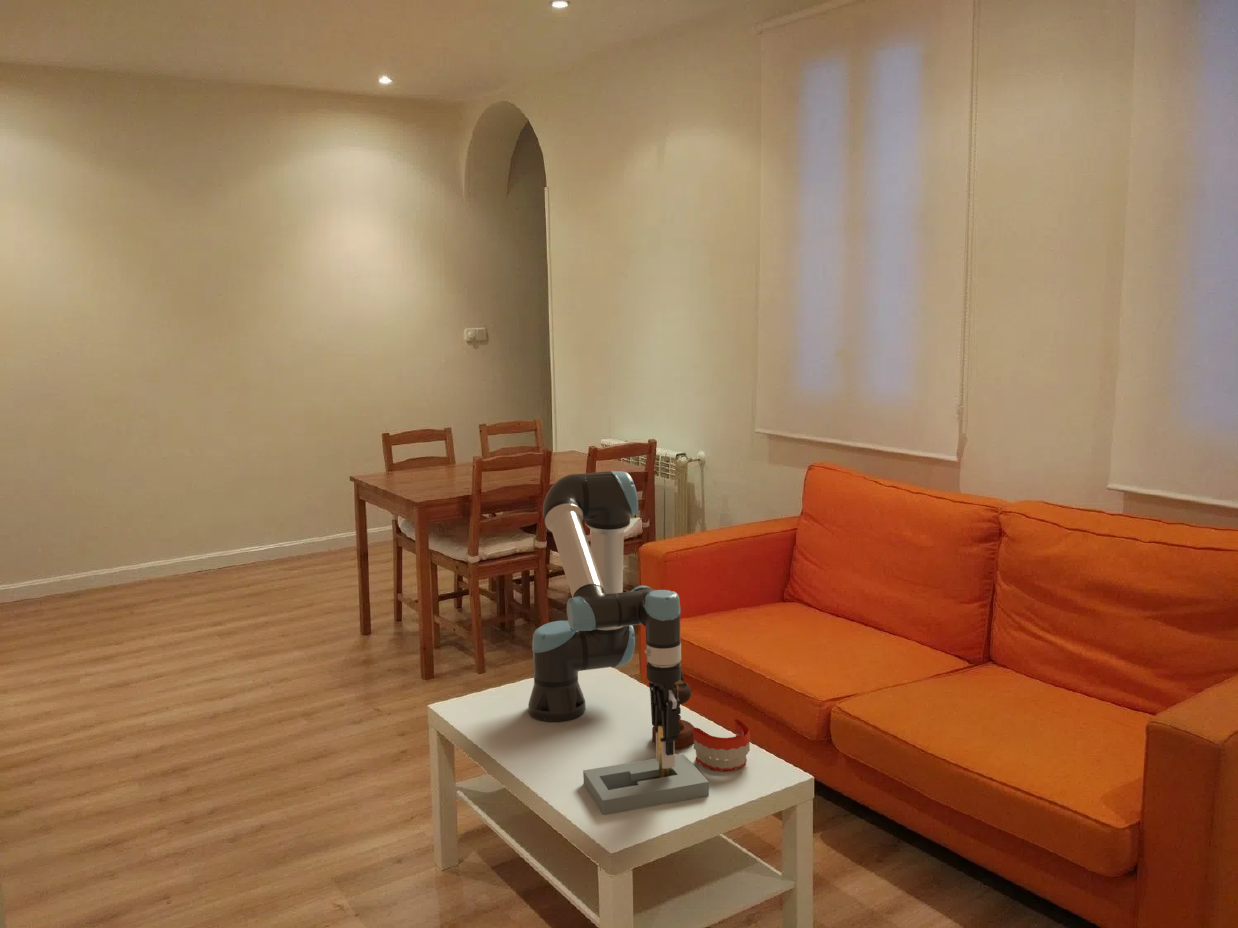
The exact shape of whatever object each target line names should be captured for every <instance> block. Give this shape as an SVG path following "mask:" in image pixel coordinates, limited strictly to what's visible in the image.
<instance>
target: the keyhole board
mask: <svg viewBox="0 0 1238 928" xmlns="http://www.w3.org/2000/svg"><path fill="white" fill-rule="evenodd" d="M582 775H583V776H582V777H583V785H584V787H585V789H586V790H587V791H588V793H589V795H590V796H591V797H592V799H593V801H594V802H595V804H596V806H597V807H598V809H599V811H600V812H601V813H602V815H610V814H615V813H621V812H626V811H631V810H637V809H643V808H649V807H652V806H653V807H654V806H660V805H664V804H670V803H675V802H682V801H687V800H693V799H697V798H703V797H708V796H709V795H710V791H709V790H710V783H709V780H708V779H707V778H706V777H705V776H704V775H703V774H702V773H701V771H700V770H699V769H698V768H697V767H696V765H694V764H693V762H692V761H690V759H688V757H687V756H686V755H685V754H684V753H681V754H680V753H679V754H675V767H672V776H668V777H662V778H657V777H659V762H657V761H656V757H655V758H650V759H645V760H638V761H632V762H625V763H619V764H613V765H608V766H602V767H595V768H590V769H584V770H583V771H582ZM655 778H656V779H655ZM636 784H637V785H636ZM629 785H630V786H629ZM617 787H618V788H617ZM611 788H612V789H611ZM613 788H614V789H613ZM709 797H710V796H709Z"/></svg>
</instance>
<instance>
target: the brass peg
mask: <svg viewBox="0 0 1238 928" xmlns="http://www.w3.org/2000/svg"><path fill="white" fill-rule="evenodd" d="M660 738H663V726H662V724H659V725H658V758H659V777H657V778H662V777H668V776H672V767H671V768H665V769H663V768H662V742H661V741H660ZM655 779H656V778H655Z"/></svg>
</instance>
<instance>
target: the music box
mask: <svg viewBox="0 0 1238 928" xmlns="http://www.w3.org/2000/svg"><path fill="white" fill-rule="evenodd" d="M674 688H675V691H676V696H675V699H676V700H677V699H679V700H680V705H682V704H685V703H687V702H688V701H689V700H690V699H691V696H692V689H691V687H690V685H689V684H688V683H687V682H686V681H685V677H684V674H683V670H682V669H681V679H680V680H679V681H678V682H676V683H675V684H674ZM681 711H682V709H681V707H680V708H679V739H678V740H676V741H674V748H675V751H676V750H684V749H687V748H690V747H692V746H694V739H693V728H696V727H695V726H694V725H693V724H692V723H691V722H689V721H687V720H684V719H682V716H681ZM651 732H652V733H651V734H652V743H653V745H654V746H656V733H657V732H656V731H655V726H653V725H652V729H651Z"/></svg>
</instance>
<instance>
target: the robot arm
mask: <svg viewBox="0 0 1238 928" xmlns="http://www.w3.org/2000/svg"><path fill="white" fill-rule="evenodd" d="M635 485H636V484H635V483H634V480H633V478H632V476H631V475H630V474H629V473H628V472H626V471H621V470H620V471H615V470H609V471H598V472H597V471H596V472H585V473H571V474H567V475H563V476H562V477H561V478H559V479H558V480H557V481H555V482H554V483H553V484H552V486H550V489H549V490H548V491H547V492H546V495H545V498H544V500H543V505H542V516H543V521H544V524H545V527H546V528H547V530H548V531H550V532H551V534H552V537H553V539H554V543H555V545H556V549H557V553H558V555H559V559H560V562H561V565H562V569H563V572H564V575H565V577H566V581H567V584H568V587H569V590H570V591H569V592H570V594H571V597H570V598H568V600H567V601H566V602H567V603H566V616H567V620H556V621H551V622H547V623H545V624H542V625H540V626H539V627H538V628H536V629H535V630H534V632H533V634H532V647H531V650H532V657H533V658H532V661H533V687H532V690H531V694H530V697H529V700H528V714H529V716H530V717H531V718H533V719H536V720H539V721H543V722H564V721H565V722H566V721H569V720H573V719H577V718H578V717H580V716H582V715H583V714H584V713H586V699H585V697H584V693H583V691H582V689H581V686H580V683H579V672H580V671H581V672H582V671H590V670H599V669H606V668H616V667H619V666H624V665H628V663H630V662H631V660H632V659H633V657H634V656H633V655H634V653H635V647H636V643H635V642H636V638H635V629H634V626H638V625H643V626H644V627H645V644H646V649H644V651H643V653H644V654H646V661H647V663H646V679H647V681H648V688H649V695H650V711H651V712H650V713H651V725H652V727H653V726H655V731H656V732H657V733H656V745H655V754H656V756H655V758H656V761H657V762H659V758H658V725H659V724H662V726H663V738H660V741H661V742H662V768H663V769H665V768H671V767H675V755H676V754H675V751H676V750H675V748H674V741H676V740H678V739H679V715H680V714H679V708H680V709H681V707H680V706H681V704H680V700H679V699H677V700H676V699H675V696H676V691H675V688H674V684H675V683H676V682H678V681H679V680H680V679H681V670H682V664H681V660H682V641H681V612H682V608H681V603H680V596H679V594H678V593H677V592H676V591H674V590H673V591H672V590H668V589H657V590H656V589H654V588H651V587H650V586H647V585H638V586H635V587H634V588H632V589H630V591H625V592H623V591H624V590H623V589H624V588H623V585H624V545H625V544H624V541H625V539H624V538H625V537H624V536H625V534H624V533H625V530H626V529H627V528H628V527H629V526H630V524H631V517H634V516H636V515H637V514H638V511H639V499H638V492H637V488H636V486H635ZM583 520H584V524H585V526H587V528H588V529H589V530H590V543H589V539H588V537H587V535H586V531H585V528H584V525H583ZM681 680H682V679H681Z"/></svg>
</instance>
